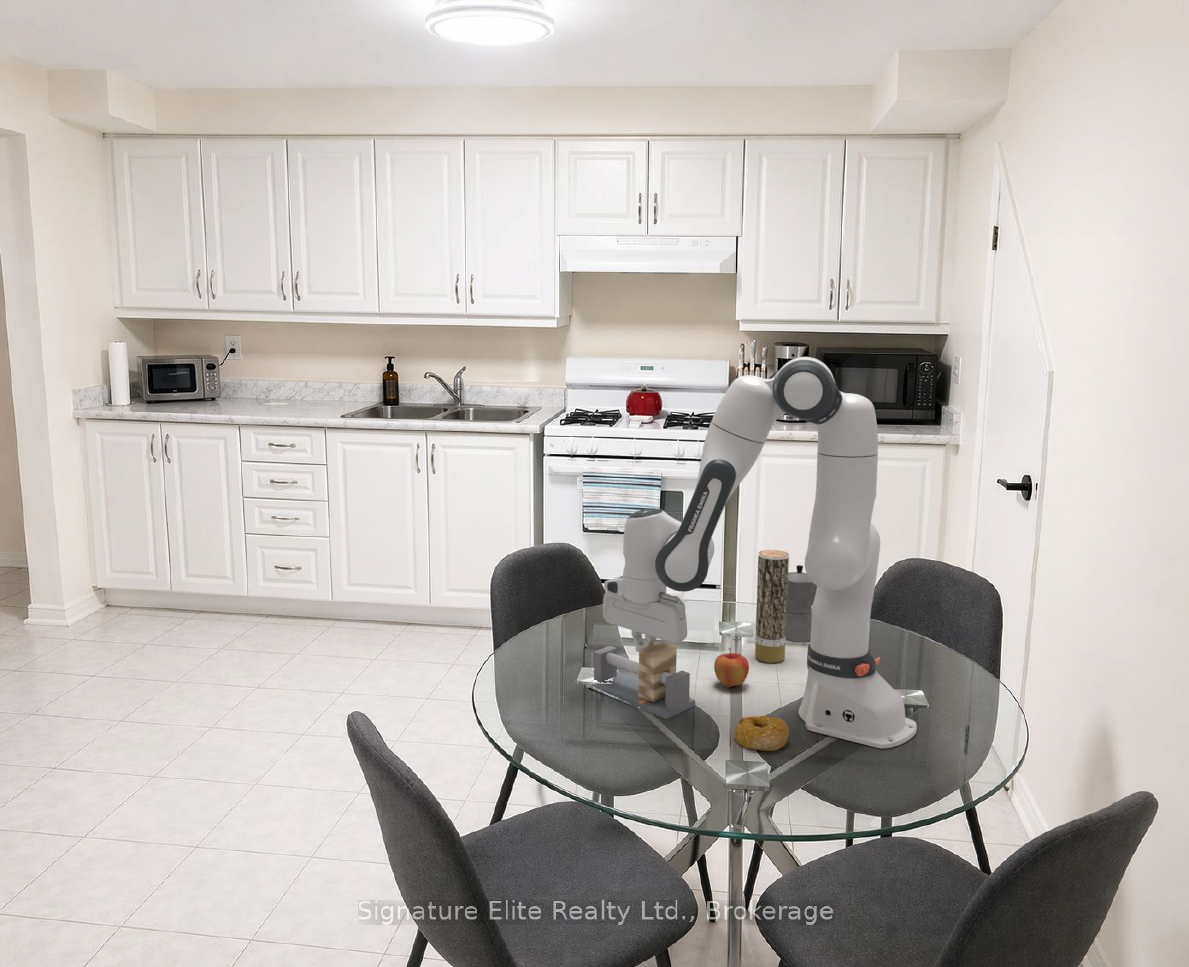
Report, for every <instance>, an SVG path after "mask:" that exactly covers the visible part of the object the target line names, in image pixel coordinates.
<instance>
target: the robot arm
mask: <svg viewBox="0 0 1189 967" xmlns="http://www.w3.org/2000/svg"><path fill="white" fill-rule="evenodd" d="M729 385H730V386H729V387H728V388H727V390H726V391H725V393H724V395H723V397H722V399H721V400H720V402H719V404H718V406H717V408H716V409H715V412H714V414H713V417H712V420H711V422H710V423H709V427H708V429H707V433H706V436H705V440H704V443H703V447H702V453H701V458H700V462H699V463H700V464H699V470H698V475H697V479H696V484H695V489H694V492H693V494H692V496H691V499H690V502H689V504H688V507H687V509H686V511H685V513H684V515H683V516H684V517H683V518H682V521H679V520H678V519H676V518H674V517H672V516H671V515H670V514H668V513H667V512H665V510H663V509H661V508H655V507H654V508H653V507H652V508H644V509H640V510H637V511H635V512H632V513H631V514H630V515H629V516H628V517H627V518H626V520H625V524H624V531H623V540H622V541H623V548H622V553H623V554H622V555H623V557H624V567H623V571H622V575H620V576H618V577H614V578H610V579H607V580H605V581H604V583H603V587H604V591H605V593H604V594H603V600H602V615H603V619H604V621H605V622H606V623H607V624H611V625H614V626H618V627H620V628H623V629H627V630H630V631H631V637H632V638H633V641H634V643H635V651H636V652H637V653H639V649H642V648H644V647H647V646H649V645H652V644H655V643H656V642H655V641H656V640H657V639H658V640H661V641H664V642H667V643H670V644H673V645H676V644H679V643H681V642H683V641H685V640H686V639H687V637H688V623H687V622H688V621H687V613H686V605H685V603H684V602H683V601H682V599H681V598H680V597H679V596H676V595H671V594H669V593H667V588H669V589H671V590H673V591H675V592H681V593H685V592H689V591H693V590H694V591H695V589H698V588H699V587H701V586H702V584H703V583H704V582H705V580H706V579H707V577H708V576H707V575H708V571H709V567H710V564H711V562H712V559H713V556H714V553H715V544H714V541H713V538H712V537H713V535H714V533H715V530H716V528H717V525H718V523H719V520H720V518H721V515H722V513H723V511H724V510H725V507H726V505H727V502H728V501H729V499H730V498H731V496H732V495H733V494H734V492H735V491H736V489H737V488H738V486H739V485H740V484H741V483H742V481H744V479H745V478H746V477H747V475H748V474H749V472H750V471H751V470H752V468H753V466H754V465H755V463H756V462H757V460H758V458H759V456H760V454H761V453H762V450H763V448H764V446H765V443H766V441H767V439H768V436H769V434H770V431H771V429H772V427H773V425H774V423H775V422H776V421H777V420H778V419H779V418H780V417H781V416H783V415H786V414H787V415H788V416H791V417H792V418H795V419H798V420H802V421H806V422H809V423H811V424H814V425H816V426H815V427H816V429H817V452H816V454H817V456H816V457H817V458H816V460H817V461H816V480H815V481H816V483H815V484H816V486H815V496H814V505H813V509H812V510H813V511H812V516H811V519H810V520H811V522H810V529H809V534H808V541H807V542H808V543H807V550H806V553H805V557H804V569H805V573H807V575H808V577H809V578H810V580H811V581H812V582H813V583H814V584H815V585H817V589H816V594H815V598H814V602H813V605H812V616H811V638H810V641H809V642H810V643H809V644H808V646H807V656H806V668H807V677H806V684H805V688H804V693H803V697H802V700H801V702H800V703H801V704H800V706H799V708H798V714H799V717H800V718H801V719H802V721H804V724H805V728H806V730H807V731H810V732H814V733H818V734H821V735H822V734H823V735H826V736H829V737H834V738H838V739H842V740H845V741H849V742H853V743H857V744H862V745H865V746H869V747H873V748H878V749H890V748H891V749H892V748H895V747H897V746H901V745H903V744H905V743H906V742H907V741H910V740H911V739H912V738H913V737H914V736H915V735H916V734H917V730H918V729H917V722H916V721H915V720H913V719H911V718H908V717H906V709H905V703H904V700H903V697H902V696H901V695H900V693H898V692H897V691H896V690H895V688H893V687H892V686H891V685H890V684H889V683H888V682H887V681H886V679H884V677H882V676H881V675H880V674H879V673H878V671H877V669H876V666H877V665H878V664H879V663H881V661H880V660H881V656H878V657H877V658H874V657H873V656H872V653H871V651H870V649H869V646H870V645H869V643H870V628H871V626H870V625H871V613H872V612H871V611H872V604H873V600H874V595H875V587H876V580H877V575H878V565H879V558H880V552H881V551H880V550H881V537H880V533H879V531H878V529H877V528H876V527H875V526H874V525H873V524H872V518H873V512H874V505H875V500H876V497H877V486H878V485H877V482H878V463H879V462H878V461H879V460H878V458H879V435H878V433H879V432H878V423H877V415H876V410H875V406H874V404H873V402H872V401H871V400H870V399H869V398H867V397H865V396H863V395H861V394H856V393H850V392H849V393H847V392H843V391H841V390H840V389H839V388H838V385H836V381H835V378H834V375H833V373H832V371H831V369H830V368H829V367H828V366H827V365H826V364H825V363H824V362H822V361H821V360H820V359H817V358H815V357H810V356H800V357H795V358H793V359H791V360H789V361H788V362H786V363H785V364H783V366H782V367H781V368H780V369H779V370H777V371H775V373H773V374H772V375H771V376H770V377H769V378H764V377H760V376H757V375H752V374H751V375H750V374H747V375H741V376H739V377H737V378H735V379H734V380H733V381H732V382H731V383H730V384H729ZM643 635H644V638H643ZM644 639H645V640H646V641H645V640H644Z"/></svg>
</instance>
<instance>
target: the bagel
mask: <svg viewBox="0 0 1189 967" xmlns="http://www.w3.org/2000/svg"><path fill="white" fill-rule="evenodd" d="M737 723H738V725H737V726H736V728H735V741H736V742H737V743H738V744H739V746H742V747H743V748H746V749H750V750H756V751H765V752H775V751H778V750H780V749H782V748H783V747H785V745H786V744H787V743H788V740H789V739H788V738H789V735H790V729H789V727H788V725H787V723H786V721H785V720H784V719H783V718H780V717H770V716H767V715H759V716H758V715H755V716H747V717H746V716H744V717H742V718H740V719H739V720H738V722H737Z"/></svg>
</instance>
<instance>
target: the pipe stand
mask: <svg viewBox="0 0 1189 967" xmlns="http://www.w3.org/2000/svg"><path fill="white" fill-rule="evenodd" d="M618 669H621V670H624V671H626V672H629V673H633V674H634V675H638V676H639V661H635V660H632V659H630V658H627V657H623V656H621V655H618V648H617V647H614V646H611V645H608V646H606V647H603V648H601V649H597V650H595V651H593V680H597V681H598V682H600V683H601V682H603V683H607V682H609V683H612V684H592V685H593V686H594V687H596V688H598V689H601V690H603V691H604V692H606V693H608V694H610V695H613V696H615V697H618V698H619V699H621V700H623V701H626V702H628V703H630V704H632V705H633V706H632V705H631V706H632V707H634V706H635V707H634V708H637V707H640V708H641V709H640V710H642V709H643V710H642V711H644V710H645V711H644V712H646V713H650V714H652V715H655V716H657V717H660V718H663V719H666V720H668V719H670V718H673V717H674V716H677V715H679V714H681V713H684V712H685V711H687V710H689V709H691V708H693V707H696V700H695V699H693V698H691V697H690V687H691V684H690V683H691V682H690V681H691V680H690V678H691V676H690V675H691V673H690V672H689V671H688V672H687V671H685V670H679V671H676V673H675V674H670V673H667V672H664V671H663V672H661V673H660V683H662V684H665V685H666V696H665V697H663V698H661V699H659V700H657V701H654V702H653V701H650V700H647V699H645V698H642V697H639V678H635V677H633V676H631V675H628V674H625V673H622V672H619V671H618ZM613 677H614V678H613ZM610 678H613V681H611V680H610V681H605V680H608V679H610Z"/></svg>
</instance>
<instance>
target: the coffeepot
mask: <svg viewBox="0 0 1189 967" xmlns="http://www.w3.org/2000/svg"><path fill="white" fill-rule="evenodd" d="M803 569H804V565H801V564H799V565H796V572H795V571H788V592H787V617H786V641H789V642H795V643H805V642H806V643H807V642H810V638H811V616H812V605H813V602H814V598H815V594H816V589H817V585H815V584H814V583H813V582H812V581H811V580H810V578H809V577H808V575H807V573H806V572H803Z"/></svg>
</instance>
